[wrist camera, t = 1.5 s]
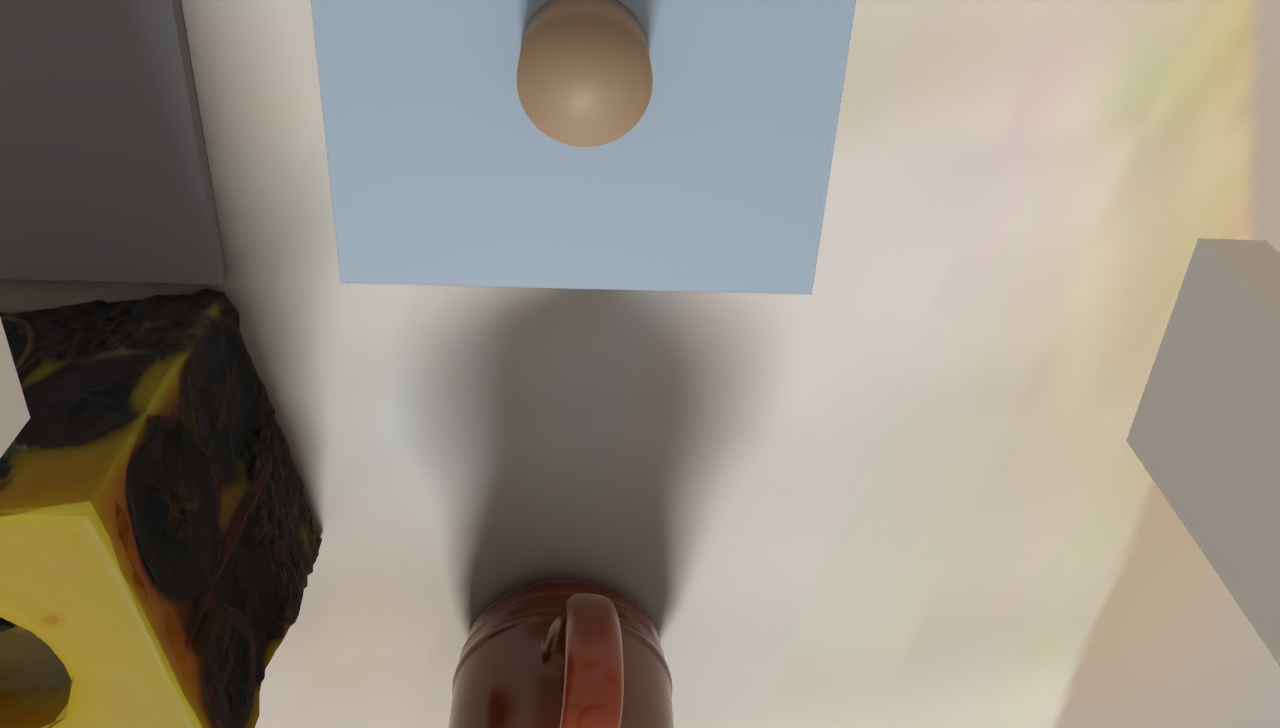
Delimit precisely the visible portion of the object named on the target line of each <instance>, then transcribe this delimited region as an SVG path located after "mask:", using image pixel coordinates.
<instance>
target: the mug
mask: <svg viewBox="0 0 1280 728" xmlns="http://www.w3.org/2000/svg"><path fill="white" fill-rule="evenodd" d="M452 694H453V699H452V707H451V715H450V723H449V728H674V725H673V712H672V700H671V698H672V679H671V675H670V671H669V668H668V666H667V663H666V661H665V658H664V654H663V650H662V647H661V644H660V639H659V636H658V633H657V630H656V628H655V626H654V624H653V623H652V621H651V620H650V618H649V617H648V615H647V614H646V613H645V612H644V611H643V610H642V609H641V608H640V607H639V606H638V605H637V604H635V603H634V602H633V601H631V600H630V599H629V598H627V597H626V596H624V595H623V594H621V593H619V592H618V591H616V590H614V589H611V588H608V587H605V586H601V585H597V584H593V583H588V582H582V581H571V580H556V581H543V582H537V583H533V584H530V585H527V586H524V587H522V588H519V589H517V590H515V591H512V592H510V593H508V594H506V595H504V596H503V597H501V598H500V599H498V600H496V601H495V602H494V603H492V604H491V605H490V606H489V607H488V608H487V609H485V610H484V611H483V612H482V614H481V615H480V616H479V617H478V618H477V620H476V621H475V623H474V624H473V626H472V628H471V630H470V633H469V636H468V638H467V641H466V643H465V645H464V647H463V650H462V652H461V655H460V660H459V664H458V666H457V669H456V672H455V675H454V679H453V688H452Z"/></svg>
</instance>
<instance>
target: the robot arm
mask: <svg viewBox="0 0 1280 728" xmlns="http://www.w3.org/2000/svg"><path fill="white" fill-rule="evenodd" d="M29 419H30V415H29V412H28V408H27V405H26V402H25V398H24V395H23V392H22V388H21V385H20V381H19V378H18V375H17V371H16V368H15V365H14V361H13V358H12V355H11V351H10V348H9V345H8V341H7V338H6V335H5V331H4V328H3V325H2V321H1V318H0V458H1V457H2V455H3V454H4V453H5V451H6V450H7V449H8V447H9V446H10V444H11V443H12V442H13V440H14V439H15V438H16V436H17V435H18V434H19V432H20V431H21V430H22V428H23V427H24V426H25V424H26V423H27V422H28V420H29ZM1127 442H1128V444H1129V445H1130V446H1131V448H1132V449H1133V451H1134V452H1135V454H1136V455H1137V457H1138V458H1139V460H1140V461H1141V463H1142V464H1143V466H1144V467H1145V469H1146V470H1147V471H1148V473H1149V474H1150V476H1151V477H1152V479H1153V480H1154V482H1155V483H1156V485H1157V486H1158V488H1159V489H1160V491H1161V492H1162V493H1163V495H1164V496H1165V498H1166V499H1167V501H1168V502H1169V504H1170V505H1171V507H1172V508H1173V510H1174V511H1175V513H1176V514H1177V515H1178V517H1179V518H1180V520H1181V521H1182V523H1183V524H1184V526H1185V527H1186V529H1187V530H1188V532H1189V533H1190V534H1191V536H1192V538H1193V539H1194V541H1195V542H1196V544H1197V545H1198V546H1199V548H1200V549H1201V551H1202V552H1203V554H1204V555H1205V557H1206V558H1207V560H1208V561H1209V562H1210V564H1211V565H1212V567H1213V569H1214V570H1215V571H1216V573H1217V574H1218V576H1219V577H1220V579H1221V580H1222V582H1223V583H1224V585H1225V586H1226V588H1227V589H1228V590H1229V592H1230V593H1231V595H1232V596H1233V598H1234V599H1235V601H1236V602H1237V604H1238V605H1239V607H1240V608H1241V609H1242V611H1243V612H1244V614H1245V616H1246V617H1247V618H1248V620H1249V621H1250V623H1251V624H1252V626H1253V627H1254V629H1255V630H1256V632H1257V633H1258V635H1259V636H1260V638H1261V639H1262V641H1263V642H1264V643H1265V645H1266V646H1267V648H1268V649H1269V651H1270V652H1271V654H1272V655H1273V657H1274V658H1275V660H1276V661H1277V663H1278V664H1279V665H1280V253H1279V252H1278V251H1277V250H1276V249H1275V248H1274V247H1272V246H1271V245H1270V244H1269V243H1268V242H1267V241H1262V240H1230V239H1199V238H1198V241H1197V244H1196V247H1195V249H1194V252H1193V255H1192V258H1191V261H1190V263H1189V266H1188V269H1187V272H1186V275H1185V277H1184V280H1183V283H1182V286H1181V289H1180V292H1179V294H1178V297H1177V300H1176V303H1175V306H1174V308H1173V311H1172V314H1171V317H1170V320H1169V322H1168V325H1167V328H1166V331H1165V334H1164V337H1163V339H1162V342H1161V345H1160V348H1159V351H1158V353H1157V356H1156V359H1155V362H1154V365H1153V367H1152V370H1151V373H1150V376H1149V379H1148V382H1147V384H1146V387H1145V390H1144V393H1143V396H1142V398H1141V401H1140V404H1139V407H1138V410H1137V412H1136V415H1135V418H1134V421H1133V424H1132V427H1131V429H1130V432H1129V435H1128V438H1127Z"/></svg>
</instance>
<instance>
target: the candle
mask: <svg viewBox="0 0 1280 728" xmlns="http://www.w3.org/2000/svg"><path fill="white" fill-rule="evenodd" d="M0 318H1V321H2V325H3V328H4V331H5V335H6V338H7V341H8V345H9V348H10V351H11V355H12V358H13V361H14V365H15V368H16V371H17V375H18V378H19V381H20V385H21V388H22V392H23V395H24V398H25V402H26V405H27V408H28V412H29V415H30V419H29V420H28V422H27V423H26V424H25V426H24V427H23V428H22V430H21V431H20V432H19V434H18V435H17V436H16V438H15V439H14V440H13V442H12V443H11V444H10V446H9V447H8V449H7V450H6V451H5V453H4V454H3V455H2V457H1V458H0V728H255V725H256V722H257V720H258V717H259V692H260V687H261V682H262V681H263V679H264V677H265V668H266V667H267V665H268V663H269V662H270V660H271V659H272V657H273V655H274V653H275V651H276V650H277V648H278V647H279V645H280V644H281V642H282V641H283V639H284V637H285V635H286V633H287V631H288V629H289V628H290V626H291V625H293V624H294V623H295V621H296V619H297V617H298V615H299V611H300V606H301V601H302V597H303V591H304V590H303V589H304V588H305V587H307V575H309V574H311V573H312V572H313V564H314V563H315V561H316V559H317V556H318V555H319V548H320V544H321V541H322V539H321V537H320V536H319V535H318V534H317V533H316V532H315V530H314V529H313V528H312V527H311V525H312V524H313V523H312V516H311V511H310V509H309V508H308V506H307V505H306V504H305V502H304V501H303V491H304V490H303V483H302V481H301V479H300V478H299V476H298V474H297V472H296V470H295V468H294V466H293V462H292V459H291V455H290V452H289V448H288V444H287V441H286V439H285V437H284V435H283V433H282V432H281V430H280V428H279V426H278V424H277V423H276V421H275V419H274V413H275V411H274V409H273V407H272V406H271V404H270V402H269V401H268V398H267V393H266V389H265V386H264V385H263V384H262V383H261V382H260V380H259V378H258V375H257V373H256V370H255V368H254V366H253V363H252V361H251V358H250V357H249V355H248V353H247V351H246V348H245V346H244V343H243V340H242V337H241V335H240V332H239V313H238V312H237V311H236V309H235V308H234V307H233V306H232V305H231V303H230V302H229V300H228V299H227V297H226V296H225V294H224V293H220V292H216V291H212V290H208V289H203V290H201V291H200V292H198V293H196V294H194V295H179V296H164V295H156V296H153V297H150V298H147V299H145V300H135V301H123V302H114V303H110V304H109V303H106V302H103V301H100V300H97V301H94V302H89V303H83V304H77V305H71V306H65V307H59V308H54V309H45V310H38V311H30V312H23V313H15V314H3V313H0Z"/></svg>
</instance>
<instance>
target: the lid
mask: <svg viewBox="0 0 1280 728" xmlns="http://www.w3.org/2000/svg"><path fill="white" fill-rule="evenodd" d="M855 4H856V0H311V7H312V16H313V26H314V35H315V44H316V54H317V63H318V73H319V82H320V91H321V101H322V110H323V120H324V129H325V138H326V148H327V157H328V167H329V176H330V186H331V195H332V204H333V214H334V223H335V233H336V242H337V251H338V261H339V270H340V280H341V283H363V284H404V285H445V286H486V287H527V288H568V289H609V290H650V291H691V292H732V293H773V294H812V288H813V282H814V275H815V269H816V262H817V255H818V249H819V242H820V236H821V229H822V222H823V216H824V209H825V202H826V196H827V189H828V183H829V176H830V169H831V163H832V156H833V150H834V143H835V136H836V130H837V123H838V117H839V110H840V103H841V97H842V90H843V83H844V77H845V70H846V64H847V57H848V50H849V44H850V37H851V31H852V24H853V17H854V11H855Z"/></svg>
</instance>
